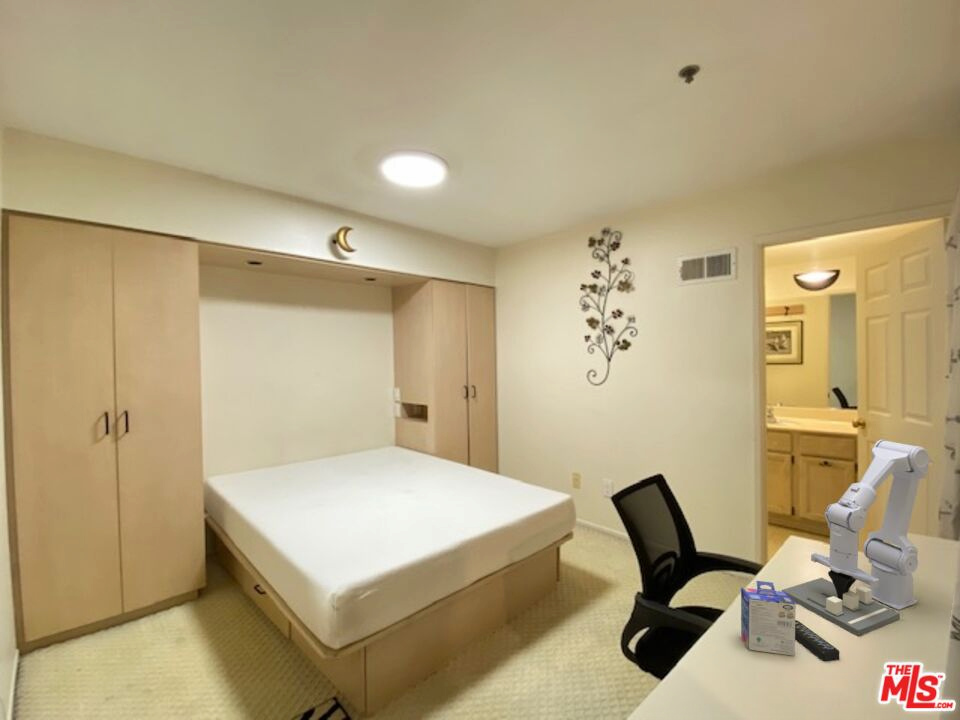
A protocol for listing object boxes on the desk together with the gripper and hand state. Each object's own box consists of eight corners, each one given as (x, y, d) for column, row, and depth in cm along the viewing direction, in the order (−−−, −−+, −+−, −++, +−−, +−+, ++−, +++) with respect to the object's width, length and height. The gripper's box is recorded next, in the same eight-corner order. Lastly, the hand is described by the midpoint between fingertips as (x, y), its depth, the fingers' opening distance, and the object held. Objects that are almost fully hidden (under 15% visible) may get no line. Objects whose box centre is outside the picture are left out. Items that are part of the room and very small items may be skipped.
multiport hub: (823, 663, 93) (823, 653, 93) (781, 630, 104) (781, 621, 104) (840, 661, 94) (840, 651, 94) (796, 628, 105) (796, 619, 105)
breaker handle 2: (860, 596, 115) (860, 584, 115) (873, 602, 112) (874, 590, 112) (853, 598, 114) (854, 587, 114) (867, 604, 111) (867, 593, 111)
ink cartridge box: (784, 640, 100) (785, 581, 99) (796, 657, 94) (798, 594, 94) (738, 634, 102) (740, 576, 101) (748, 650, 96) (750, 589, 96)
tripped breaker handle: (847, 601, 112) (847, 590, 112) (860, 608, 109) (861, 596, 109) (840, 604, 111) (840, 592, 111) (853, 611, 108) (854, 599, 108)
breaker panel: (821, 582, 125) (821, 577, 124) (899, 619, 108) (900, 613, 108) (781, 595, 118) (781, 589, 118) (858, 636, 101) (858, 630, 101)
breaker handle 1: (831, 606, 110) (831, 594, 110) (844, 613, 107) (844, 601, 107) (823, 609, 109) (824, 597, 109) (837, 616, 106) (837, 604, 106)
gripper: (804, 540, 117) (803, 587, 117) (868, 566, 103) (866, 619, 104) (820, 536, 119) (819, 582, 120) (884, 560, 106) (882, 612, 106)
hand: (842, 599), depth 112 cm, fingers closed
